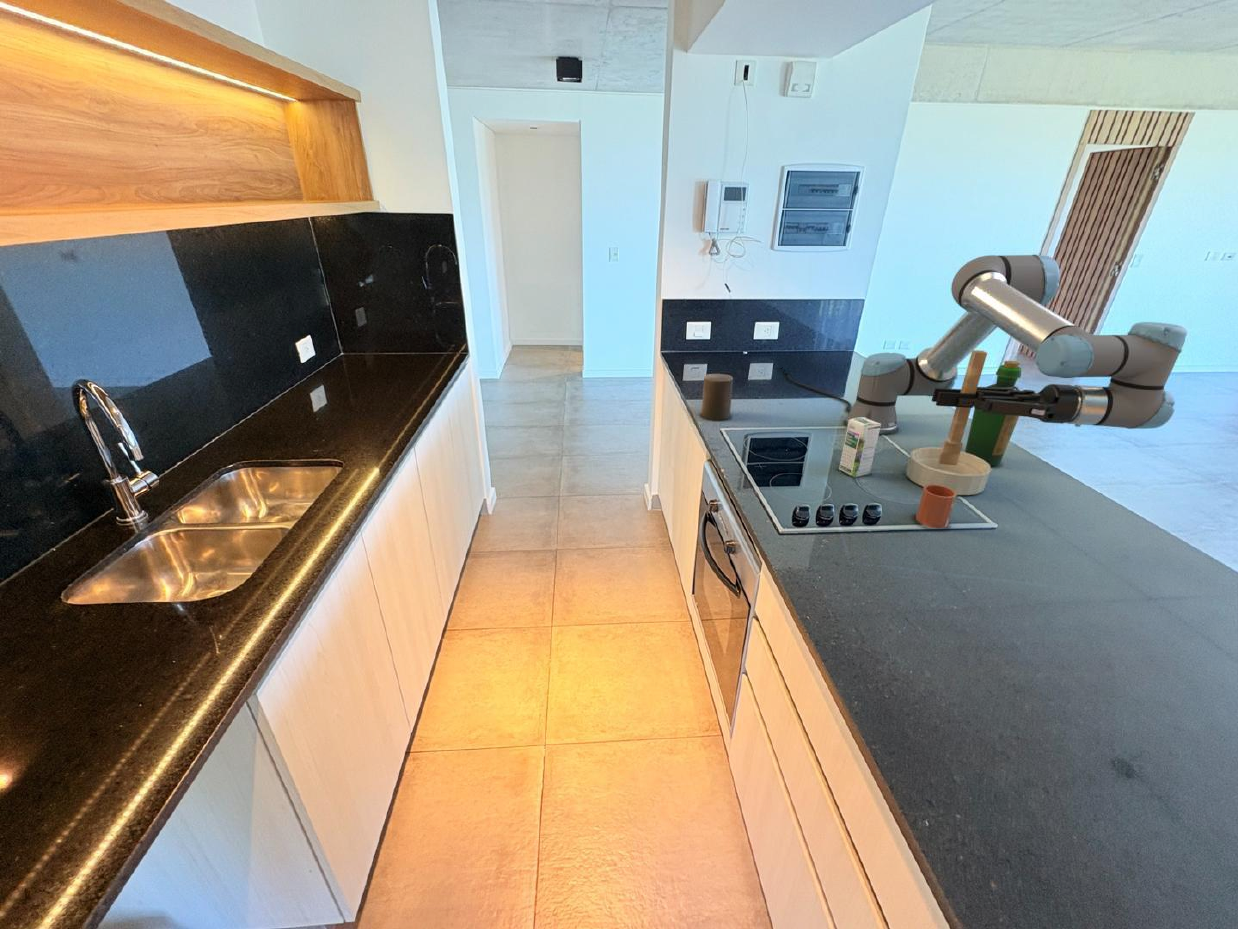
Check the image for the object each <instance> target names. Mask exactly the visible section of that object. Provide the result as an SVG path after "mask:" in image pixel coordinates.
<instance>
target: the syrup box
mask: <svg viewBox="0 0 1238 929" xmlns="http://www.w3.org/2000/svg"><path fill="white" fill-rule="evenodd" d="M880 427H881V424H880V423H877V422H874V421H872V420H869V419H867V418H865V417H859V418H853V419H850V420H849V422H848V426H847V427H846V432H845V437H844V443H843V446H842V447H843V448H842V452H841V456H840V457H841V458H840V462H839V465H838V466H839V467H838V470H839V471H842V472H844V473H845V474H847V475H849V476H851V477H852V478H859V477H863V476H867V475H870V474H871V470H872V465H873V460H874V457H875V453H876V447H877V443H878V440H879V435H880V434H879V431H880Z"/></svg>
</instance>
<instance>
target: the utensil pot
mask: <svg viewBox="0 0 1238 929" xmlns="http://www.w3.org/2000/svg"><path fill="white" fill-rule="evenodd" d="M957 497H958V495H956V492H955V491H954V490H952V489H950V488H948V487H945V486H941V485H934V484H931V485H926V486H924V487H923V488H922V491H921V494H920V498H919V503H918V506H917V509H916V514H915V520H916V521H917V522H918V523H919V524H921V525H923V526H925V527H928V528H932V529H945V528H946V527H947V526H948V525H949V523H950V520H951V519H950V518H951V515H952V512H953V509H954V505H955V502H956V498H957Z"/></svg>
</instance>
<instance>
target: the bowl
mask: <svg viewBox="0 0 1238 929" xmlns="http://www.w3.org/2000/svg"><path fill="white" fill-rule="evenodd" d="M941 450H942V447H939V446H938V447H935V446H925V447H919V448H916V449H913V450H912V451H911V452H910V453H909V457H908V461H907V466H906V470H905V475H906V476H907V477H908V479H909V480H910V481H911V482H913V483H915V484H917V485H919V486H921V487H923V488H924V486H926V485H931V484H934V485H941V486H945V487H948V488H950V489H952V490H954V491H955V492H956V495H957V496H971V495H977V494H980V493H982V492H984V490H985V489H986V486H987V483H988V481H989V478H990V474H991V471H992V466H990V465H989V464H988V463H987V462H986V461H984V460H983V459H981V458H979V457H977V456H974V455H972V454H969V453H966V452H965V451H962V450H961V452H960V456H959V459H958V462H957V465H946V464H939V463H938V461H939V457H940V454H941Z"/></svg>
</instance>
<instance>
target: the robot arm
mask: <svg viewBox="0 0 1238 929" xmlns="http://www.w3.org/2000/svg"><path fill="white" fill-rule="evenodd" d="M1060 281H1061V269H1060V266H1059V264H1058V262H1057V261H1056V260H1055V258H1053V257H1051V256H1049V255H1040V254H1039V255H1038V254H1037V253H1035V254H1020V255H1019V254H1017V255H1016V254H1013V255H1012V254H1011V255H1009V254H1008V255H995V254H993V255H989V254H988V255H983V256H978V257H976V258H974V259H973V258H972V259H971V260H969V261H967V262H966V263H965V264H964V265H962V266H961V267H960V268H959V270H957V272H956V273H955V275H954V277H953V278H952V283H951V288H950V290H951V291H950V292H951V295H952V297H953V300H954V301H955V303H956V304H957V305H958V306H959V307H960V308H962V309H963V310H964V311H965V312H964V313H963V314H962V315H961V316H960V318H959V319H957V320H956V321H955V323H954V324H953V325H952V326H951V327H950V328H949V329H948V330H947V331H946V332H945V334H943V336H942V337H941V338H940V339H939V340H938V341H937V342H936V343H935V344H934V345H933V346H932V347H927V348H925V349H923V350H922V351H920V353H919V354H918V355H916V357H913V358H911V357H910V358H908V357H906V355H904V354H902V353H899V352H879V353H874V354H870V355H868V356H867V357H866V358H865V359H864V361H863V363H862V366H861V370H860V377H859V383H858V387H857V393H856V398H855V402H854V403H853V405H852V407H851V403H850V402H849V401H848V400H846V399H845V398H842V397H839V396H837V395H834V394H832V393H829V392H826V391H823V390H820V389H817V388H814V387H811V386H809V385H805V384H803V383H801V382H799V381H796V380H795V379H794V378H791V377H790V376H789V375H788V376H789V377H788V376H786V378H787V379H788V380H789V381H791V382H792V383H794V384H796V385H798V386H800V387H803V388H806V389H809V390H811V391H814V392H817V393H819V394H822V395H825V396H828V397H832V398H833V399H836V400H839V401H841V402H843V403H845V404H847V407H846V411H847V412H849V413H848V414H847V416H846V418H845V425H846V426H847V427H848V422H849V420H850V419H853V418H859V417H865V418H867V419H869V420H872V421H874V422H877V423H880V424H881V427H880V431H879V435H888V434H893V433H895V432H896V431H897V428H898V418H897V410H896V406H897V405H896V404H897V401H898V397H906V396H907V397H916V396H917V397H919V396H920V397H932V398H931V402H933V403H935V406H937V407H949V408H956V407H964V408H971V409H977V410H979V409H981V410H982V412H984V413H994V414H1004V415H1014V416H1019V417H1025V418H1026V417H1027V418H1031V419H1037V420H1039V421H1040V422H1042V423H1047V424H1062V425H1063V424H1068V425H1074V427H1076V428H1080V427H1082V425H1085V426H1095V427H1097V426H1098V427H1111V428H1122V429H1127V430H1134V429H1135V430H1136V429H1138V430H1139V429H1140V430H1141V429H1142V430H1146V429H1147V430H1148V429H1157V428H1160V427H1162V426H1164V425H1165V424H1166V423H1168V422H1169V421H1170V419H1171V418H1172V417H1173V415H1174V413H1175V408H1174V406H1175V404H1176V402H1175V401H1176V400H1175V397H1174V396H1173V394H1172V393H1171V392H1169V391H1167V390H1165V386H1166V384H1167V382H1168V380H1169V377H1170V375H1171V373H1172V371H1173V368H1174V367H1175V364H1176V362H1177V360H1178V358H1179V356H1180V354H1182V351H1183V350H1182V349H1183V346H1184V344H1185V342H1186V337H1187V335H1188V331H1187V329H1186V328H1185V327H1183V326H1182V325H1179V324H1178V325H1177V324H1173V323H1165V322H1156V321H1155V322H1154V321H1141V322H1137V323H1134V324H1133V325H1132V326H1131V327H1130V329H1129V330H1128V332H1127V334H1092V333H1090V332H1088V331H1086V330H1085V329H1083V328H1081V327H1080V326H1077V325H1076V324H1074V323H1073V322H1071V321H1069V320H1067V319H1066V318H1065V317H1063V316H1061V315H1060V314H1058V313H1056V312H1054V311H1053V310H1051V309H1050V308H1047V307H1046V305H1047V304H1048V303H1050V302H1051V301H1052V300H1054V297H1055V296H1056V294H1057V292H1058V290H1059V286H1060ZM997 329H1000V330H1001V331H1003V332H1004V333H1006V334H1007V335H1008V336H1010V337H1011V338H1012V339H1014V340H1015V341H1017V342H1018V343H1020V344H1021V345H1022V346H1024V347H1025V348H1026V349H1028V350H1029V351H1031V352H1032V353H1033V354H1035V364H1036V365H1037V367H1038V368H1037V369H1038V371H1039V372H1040V373H1041V374H1043V375H1044V376H1046V377H1053V378H1061V379H1073V378H1110V379H1109V383H1108V386H1099V385H1082V384H1073V385H1071V384H1060V383H1050V384H1047V385H1045V386H1043V388H1042V389H1041V390H1040V391H1039V392H1036V391H1035V390H1033V389H1023V390H1021V389H1019V387H1017V386H1014V387H987V386H977V390H976V393H975V394H969V393H960V392H961V388H954V386H955V384H956V380H958V374H959V369H958V365H959V364H961V363H962V362H963V361H964V360H965V359H966V358H967V357H968V356H969V355H971V353H972V350H975V349H976V348H977V347H979V346H980V345H981V344H982V343H983V342H984V341H985V340H986V339H987V338H988V337H989V336H990V335H992V333H994V332H995V330H997ZM1018 389H1019V390H1018ZM850 408H851V409H850Z"/></svg>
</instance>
